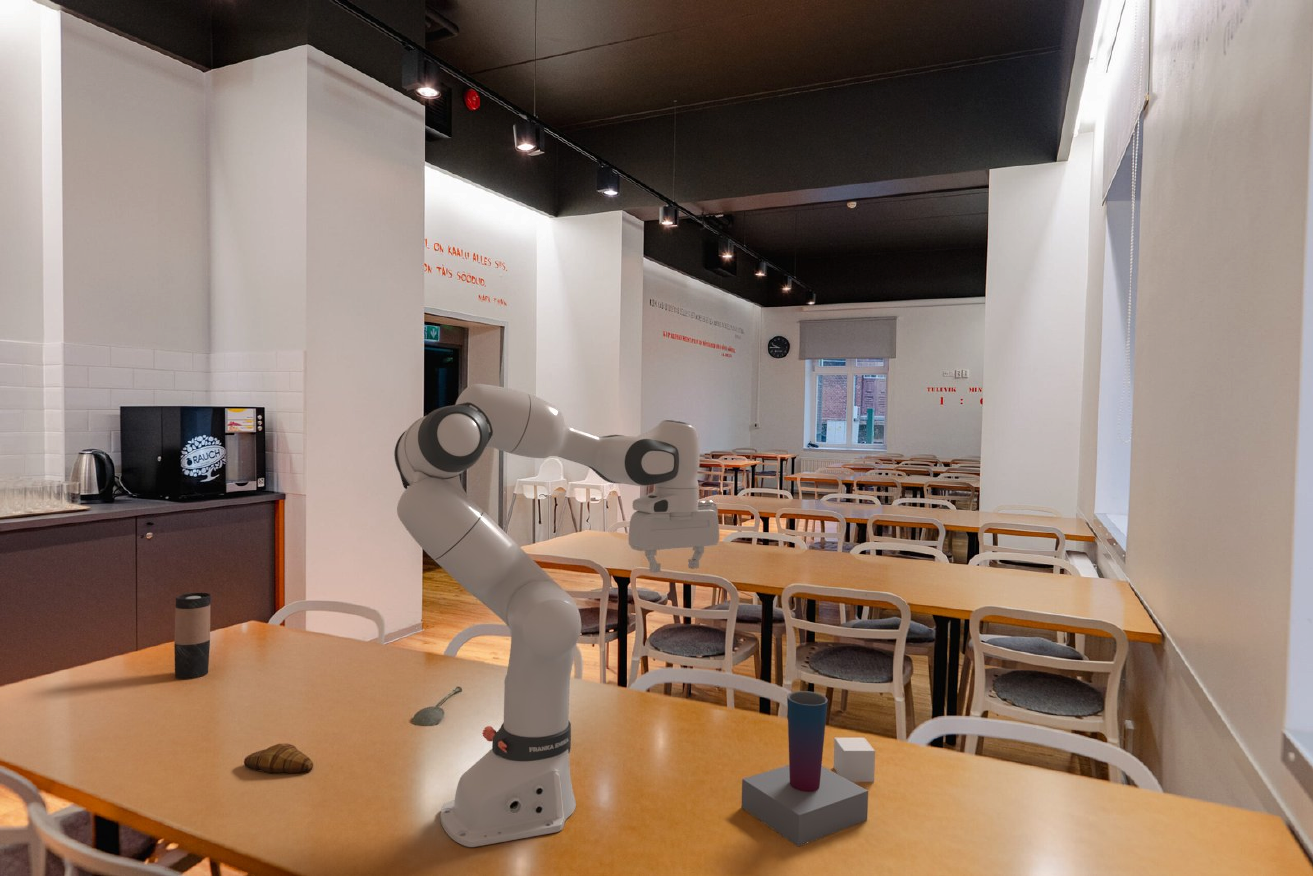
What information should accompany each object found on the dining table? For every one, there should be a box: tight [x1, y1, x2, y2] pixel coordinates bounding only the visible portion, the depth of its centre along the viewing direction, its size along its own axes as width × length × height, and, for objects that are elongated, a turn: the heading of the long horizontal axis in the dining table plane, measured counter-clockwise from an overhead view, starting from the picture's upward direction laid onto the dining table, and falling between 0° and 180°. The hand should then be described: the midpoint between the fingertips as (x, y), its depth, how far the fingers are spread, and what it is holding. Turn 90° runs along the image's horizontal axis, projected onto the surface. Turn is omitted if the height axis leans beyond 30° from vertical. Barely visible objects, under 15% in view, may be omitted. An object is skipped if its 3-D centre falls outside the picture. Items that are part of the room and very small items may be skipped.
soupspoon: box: [411, 686, 463, 727], centre depth 170 cm, size 22×3×7 cm
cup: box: [786, 690, 829, 792], centre depth 127 cm, size 7×7×15 cm
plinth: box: [740, 764, 869, 847], centre depth 127 cm, size 16×14×5 cm
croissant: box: [243, 742, 314, 775], centre depth 138 cm, size 14×7×5 cm, turn 82°
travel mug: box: [173, 592, 211, 680], centre depth 187 cm, size 8×8×20 cm
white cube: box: [833, 737, 876, 783], centre depth 142 cm, size 6×6×6 cm
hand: (674, 570), depth 149 cm, fingers open, 8 cm apart
